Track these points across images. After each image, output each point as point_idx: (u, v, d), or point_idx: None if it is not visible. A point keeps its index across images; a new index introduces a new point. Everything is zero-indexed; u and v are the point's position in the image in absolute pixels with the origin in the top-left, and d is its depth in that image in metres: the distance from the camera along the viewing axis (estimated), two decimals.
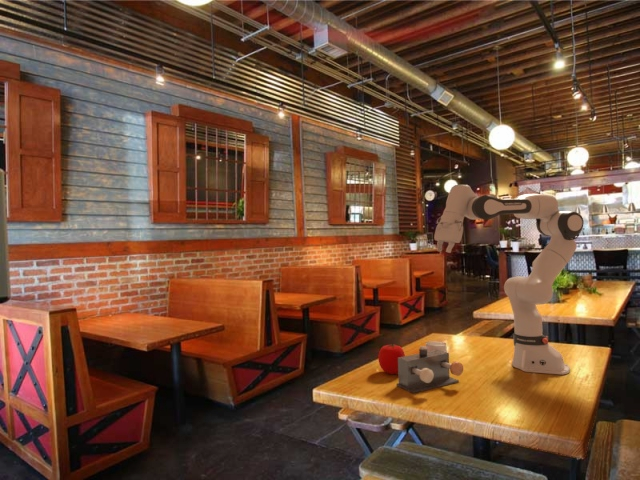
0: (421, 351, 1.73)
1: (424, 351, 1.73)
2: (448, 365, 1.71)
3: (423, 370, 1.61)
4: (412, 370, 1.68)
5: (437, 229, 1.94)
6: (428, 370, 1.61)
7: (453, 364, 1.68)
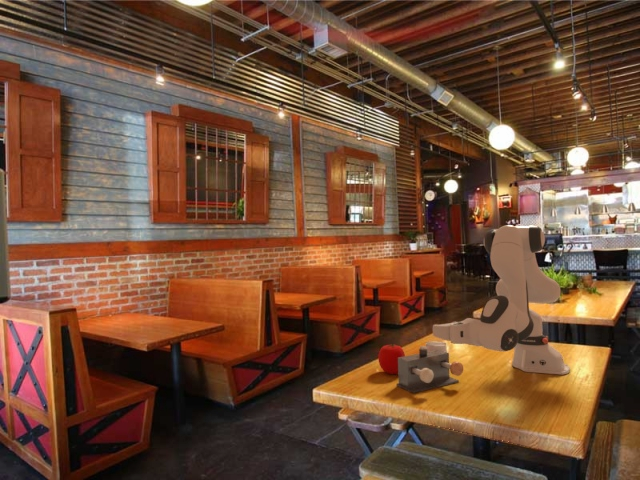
0: (421, 351, 1.73)
1: (424, 351, 1.73)
2: (448, 365, 1.71)
3: (423, 370, 1.61)
4: (412, 370, 1.68)
5: None
6: (428, 370, 1.61)
7: (453, 364, 1.68)
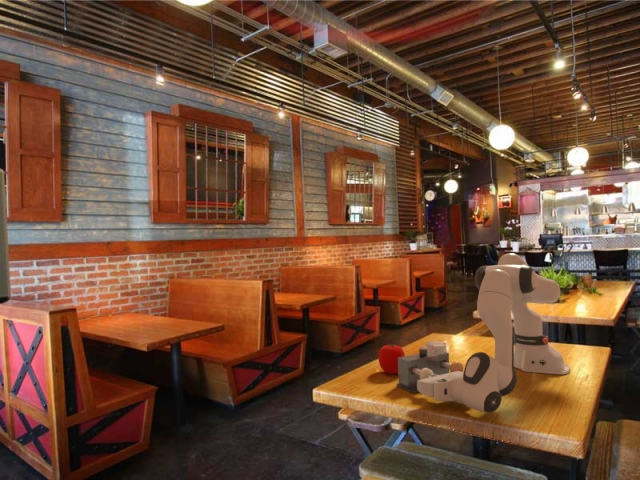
0: (421, 351, 1.73)
1: (424, 351, 1.73)
2: (448, 365, 1.71)
3: (423, 370, 1.61)
4: (412, 370, 1.68)
5: None
6: (428, 370, 1.61)
7: (453, 364, 1.68)
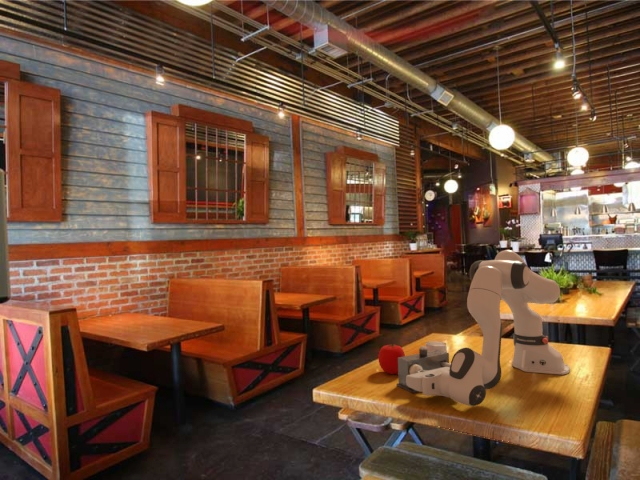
0: (421, 351, 1.73)
1: (424, 351, 1.73)
2: (448, 365, 1.71)
3: (413, 366, 1.67)
4: None
5: None
6: (417, 366, 1.66)
7: None
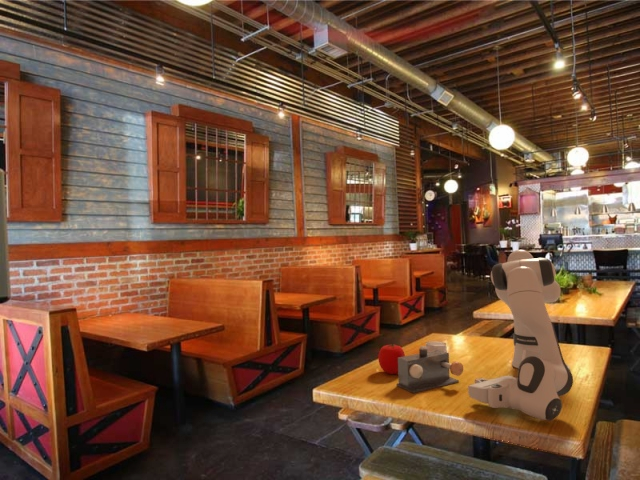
0: (421, 351, 1.73)
1: (424, 351, 1.73)
2: (448, 365, 1.71)
3: (413, 366, 1.67)
4: None
5: None
6: (417, 366, 1.66)
7: (453, 364, 1.68)
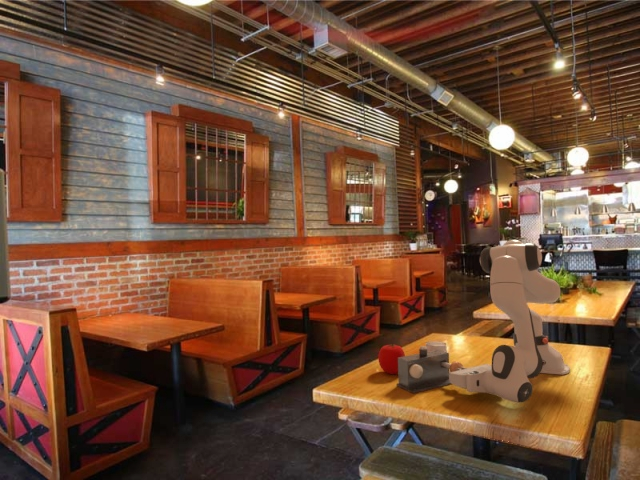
0: (421, 351, 1.73)
1: (424, 351, 1.73)
2: (448, 365, 1.72)
3: (413, 366, 1.67)
4: None
5: None
6: (417, 366, 1.66)
7: (453, 364, 1.68)
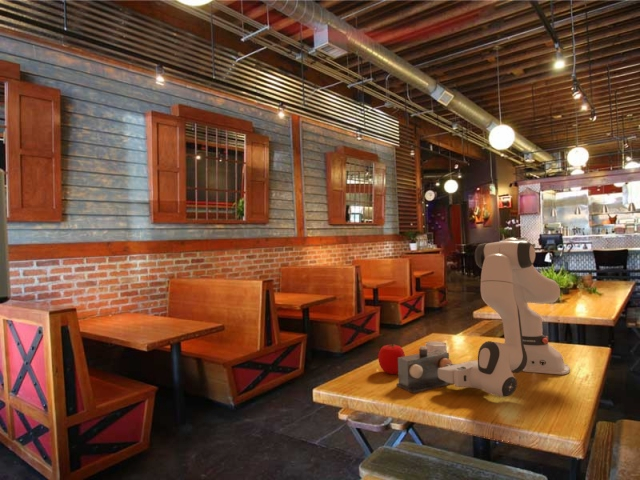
0: (421, 351, 1.73)
1: (424, 351, 1.73)
2: None
3: (413, 366, 1.67)
4: None
5: None
6: (417, 366, 1.66)
7: (442, 360, 1.73)
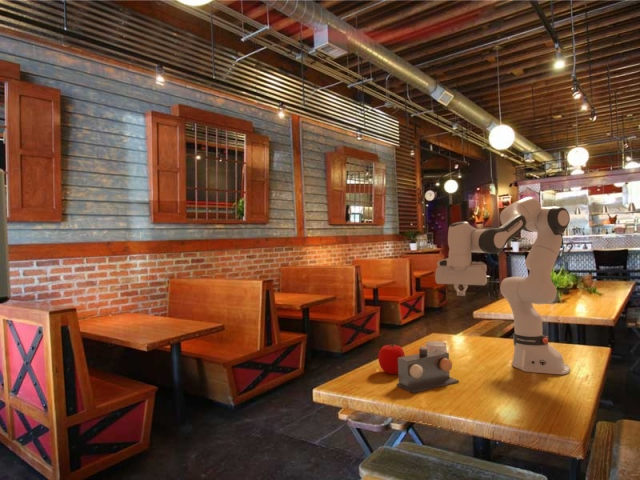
0: (421, 351, 1.73)
1: (424, 351, 1.73)
2: None
3: (413, 366, 1.67)
4: None
5: (439, 272, 1.80)
6: (417, 366, 1.66)
7: (442, 360, 1.73)
